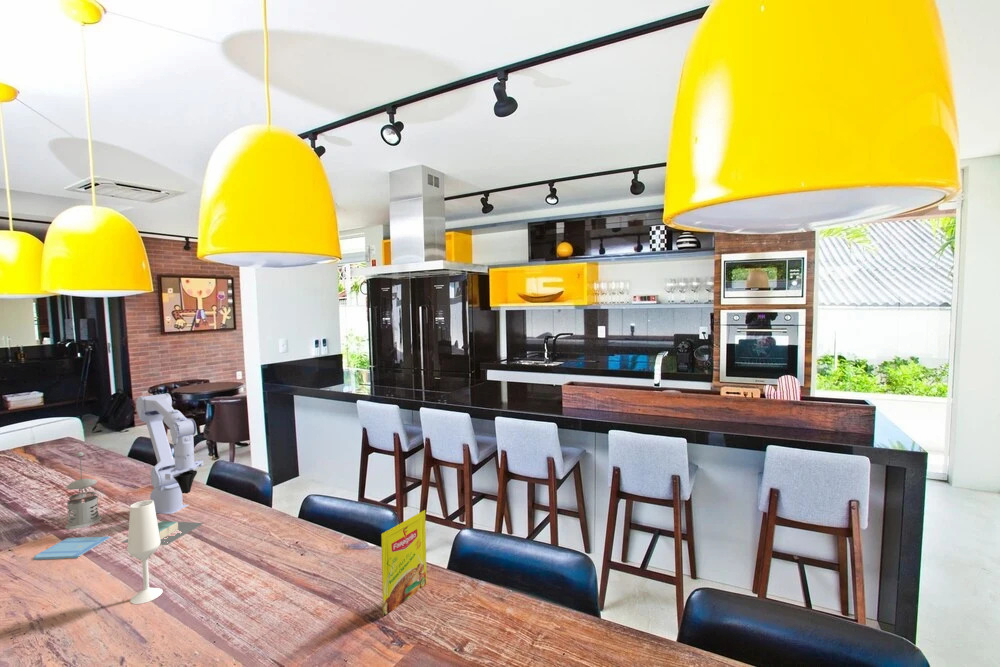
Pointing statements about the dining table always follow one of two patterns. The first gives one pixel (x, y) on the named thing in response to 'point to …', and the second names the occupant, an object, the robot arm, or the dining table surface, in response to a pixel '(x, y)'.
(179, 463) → the robot arm
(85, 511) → the french press
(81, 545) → the folded blue cloth
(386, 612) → the food package
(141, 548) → the champagne flute
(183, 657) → the dining table surface
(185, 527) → the mat
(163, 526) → the beige and teal block
